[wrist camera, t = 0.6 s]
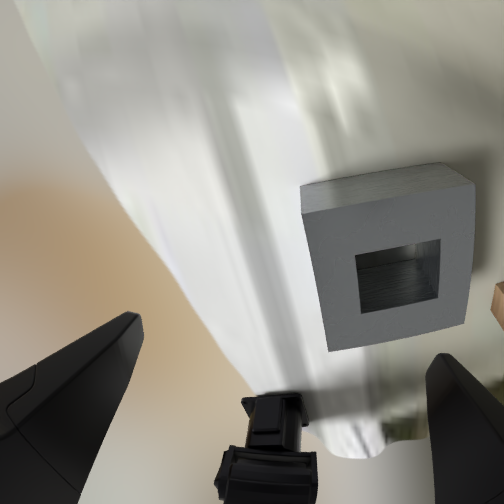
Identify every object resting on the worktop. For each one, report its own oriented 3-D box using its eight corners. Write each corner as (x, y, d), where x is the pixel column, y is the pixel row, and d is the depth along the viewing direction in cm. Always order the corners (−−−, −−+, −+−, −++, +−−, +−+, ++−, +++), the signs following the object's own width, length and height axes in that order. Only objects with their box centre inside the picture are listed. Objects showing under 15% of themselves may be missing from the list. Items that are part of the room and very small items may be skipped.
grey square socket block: (441, 284, 22) (463, 323, 18) (324, 306, 25) (328, 351, 20) (440, 162, 18) (475, 184, 14) (300, 186, 20) (301, 214, 16)
